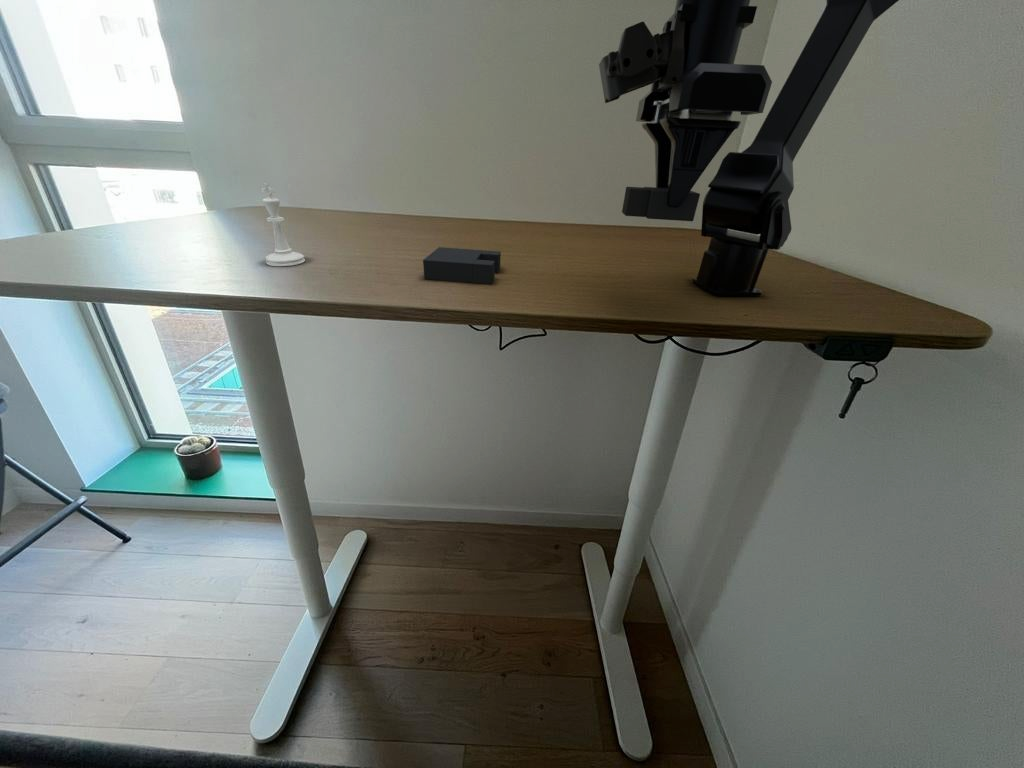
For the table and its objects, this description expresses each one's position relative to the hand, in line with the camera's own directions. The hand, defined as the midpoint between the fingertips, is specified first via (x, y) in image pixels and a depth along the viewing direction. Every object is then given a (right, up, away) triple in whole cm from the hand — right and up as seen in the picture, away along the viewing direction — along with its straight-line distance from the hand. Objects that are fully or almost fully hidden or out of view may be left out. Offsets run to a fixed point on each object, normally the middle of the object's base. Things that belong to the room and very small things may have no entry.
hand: (666, 203), depth 41 cm
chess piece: (-48, -1, +16) cm, 50 cm away
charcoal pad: (-23, -3, +14) cm, 27 cm away
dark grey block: (0, -1, +1) cm, 1 cm away
